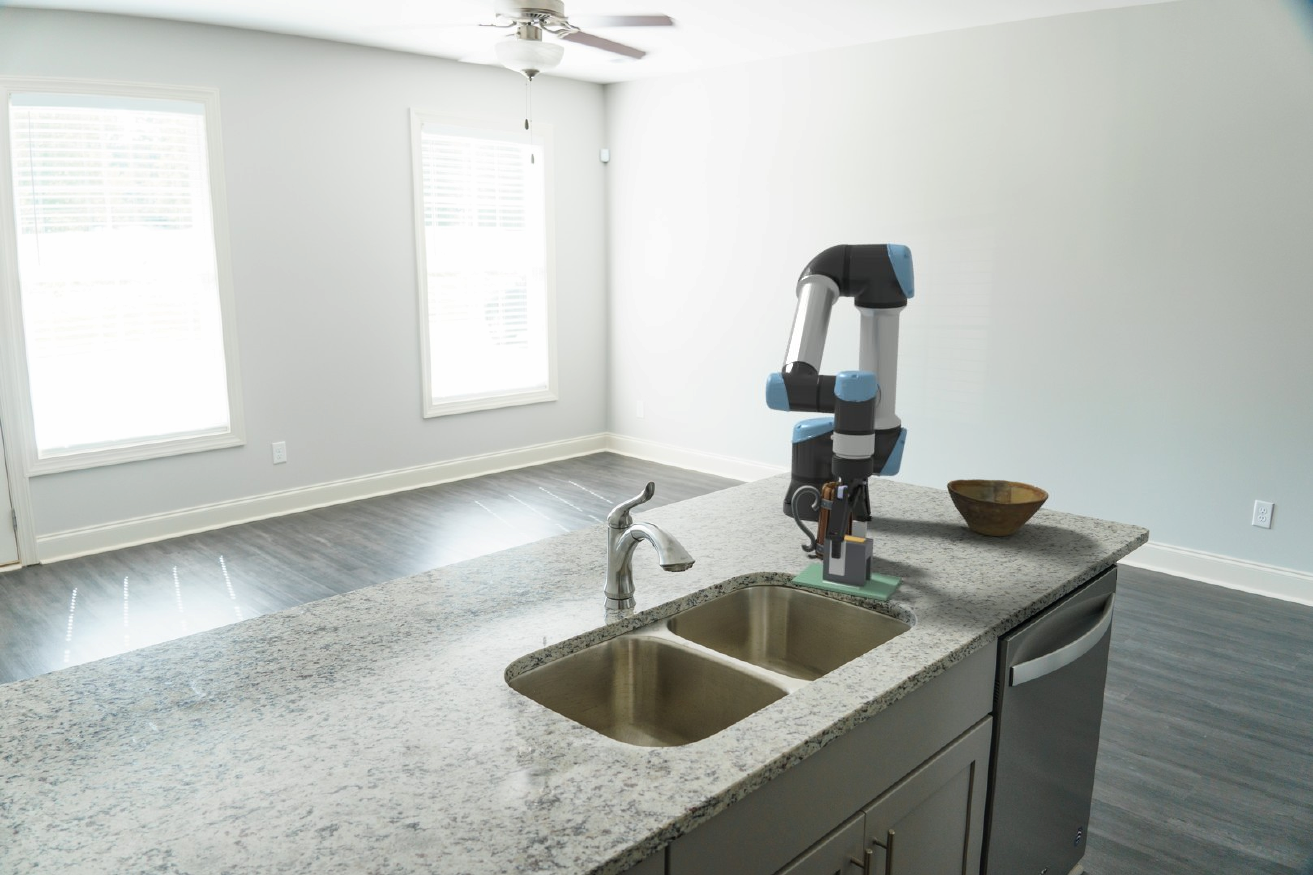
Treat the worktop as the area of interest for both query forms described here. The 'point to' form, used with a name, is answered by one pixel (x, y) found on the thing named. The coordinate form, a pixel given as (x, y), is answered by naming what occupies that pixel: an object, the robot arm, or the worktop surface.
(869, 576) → the grey slotted block
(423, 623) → the worktop surface
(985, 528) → the bowl
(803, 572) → the board
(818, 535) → the mug
